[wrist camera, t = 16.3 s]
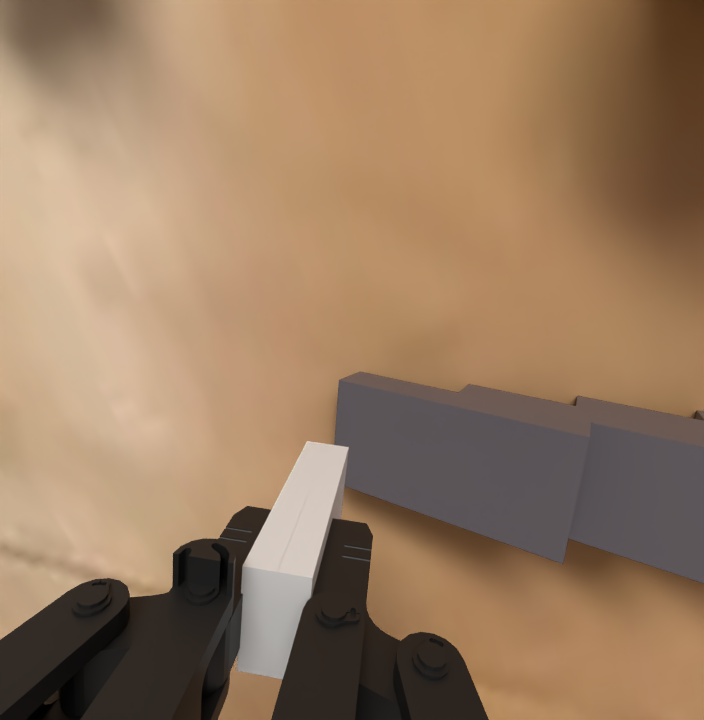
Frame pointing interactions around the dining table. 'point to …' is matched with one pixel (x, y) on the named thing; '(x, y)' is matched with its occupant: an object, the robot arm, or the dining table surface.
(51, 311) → the dining table surface
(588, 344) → the dining table surface
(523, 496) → the domino
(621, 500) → the domino
